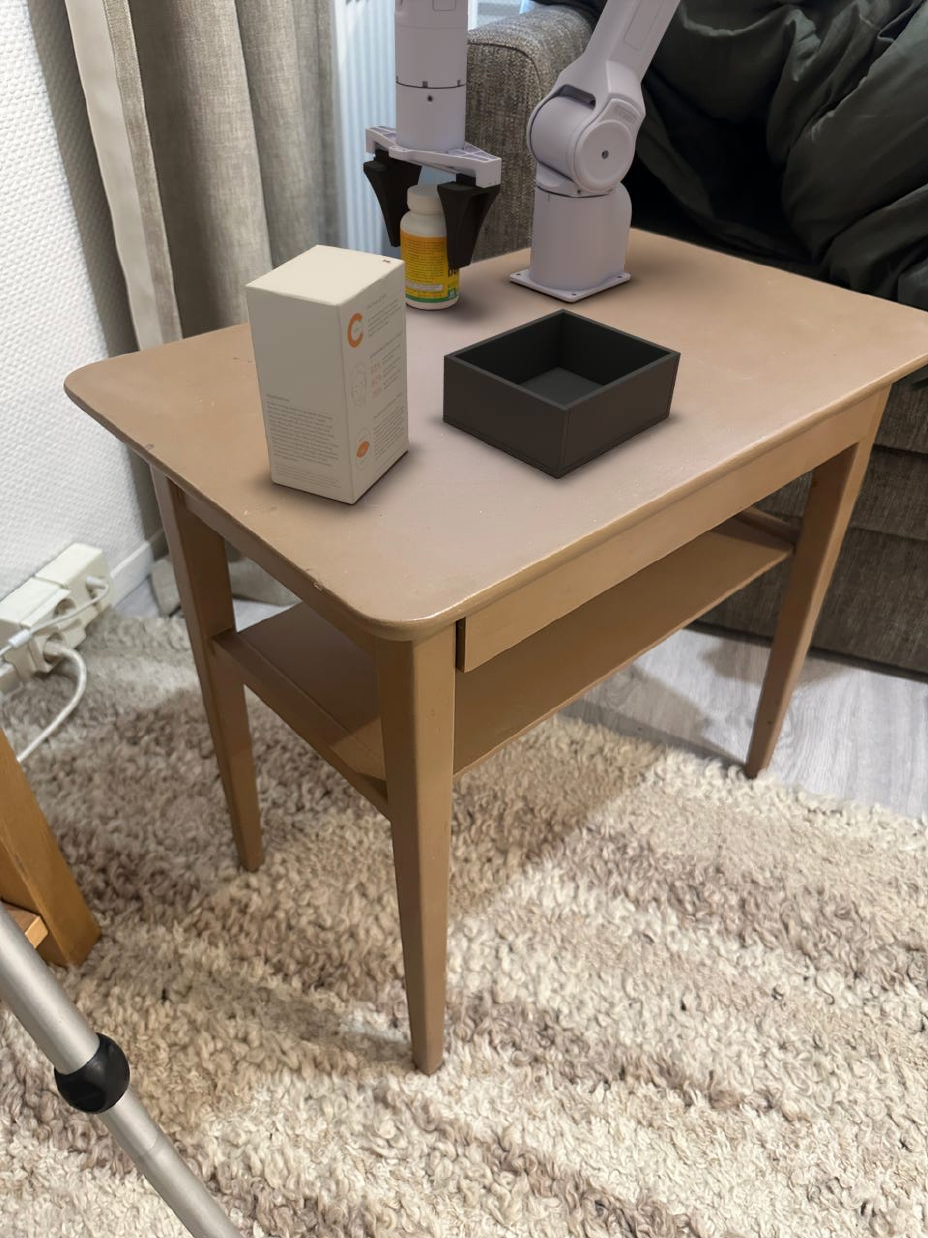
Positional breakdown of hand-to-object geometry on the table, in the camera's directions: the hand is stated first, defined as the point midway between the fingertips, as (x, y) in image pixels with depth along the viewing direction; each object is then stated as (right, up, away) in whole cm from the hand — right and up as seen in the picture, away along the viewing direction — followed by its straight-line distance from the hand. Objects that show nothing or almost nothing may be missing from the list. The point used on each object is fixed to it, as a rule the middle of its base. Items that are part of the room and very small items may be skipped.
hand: (429, 255), depth 81 cm
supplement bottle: (0, -3, +3) cm, 4 cm away
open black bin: (+10, -18, -14) cm, 25 cm away
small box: (-5, -23, -20) cm, 31 cm away
